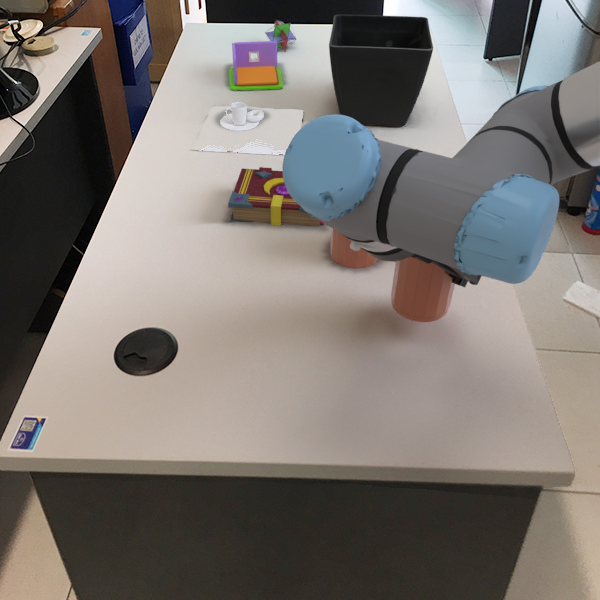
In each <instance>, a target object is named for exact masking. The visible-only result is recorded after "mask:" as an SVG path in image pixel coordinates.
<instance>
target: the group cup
mask: <svg viewBox="0 0 600 600" xmlns="http://www.w3.org/2000/svg"><path fill="white" fill-rule="evenodd" d="M330 229H331V230H330V247H329V252H330V257H331V259H332V260H333V261H334V262H335V263H336V264H338V265H340V266H342V267H345V268H347V269H355V270H358V269H366V268H369V267H372V266H374V265H375V264H376V263H377V262H378V261H380V259H377V258H375V257H373V256H372V255H370V254H369V253H367V252H366V251H365V250H363V249H362V248H360V250H359V251H354V250H352V249H351V248H350V244H351V242H352V241H351V240H350V239H348V238H346V237H345V236H343V235H342V234H340V233H339V232H337V231H336V230H334V229H333V228H331V227H330Z"/></svg>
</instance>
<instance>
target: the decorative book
mask: <svg viewBox="0 0 600 600" xmlns="http://www.w3.org/2000/svg"><path fill="white" fill-rule="evenodd" d="M227 208H232V213H231V216H230V218H229V223H254V222H256V223H270V225H271V226H280V227H281V226H282V224H285V225H296V226H297V225H298V226H310V227H311V226H312V227H320V226H321V225H325V223H324V222H322V221H321V220H319V219H316V218H313V217H311V216H309V215H308V213H307V212H305V211H304V210H303V208H302V207H301V206H300V205H299V204H298V203H297V202H296V201H295V200H294V199H293V198H292V197H291V196H290V194H289V193H288V191H287V188H286V186H285V183H284V180H283V170H273V168H272V167H263V166H261V167H260V166H259V168H258V169H256V168H255V169H254V168H241V169H240V172H239V175H238V178H237V180H236V184H235V186H234V190H232V191H231V194H230V196H229V199H228V202H227Z"/></svg>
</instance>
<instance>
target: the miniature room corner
mask: <svg viewBox="0 0 600 600" xmlns="http://www.w3.org/2000/svg"><path fill="white" fill-rule="evenodd" d="M231 49H232V51H231V52H232V67H230V68H228V83H229V89H230V91H232V90H234V91H235V92H238V91H237V90H244V91H267V89H271V90H281V88H282V89H283V87H284V81H283V77H282V72H281V68H280V66H278V47H277V42H276V41H270V40H267V41H265V40H263V41H237V42H235V41H234V42H232V43H231ZM251 54H256V56H257V58H252V57H251Z"/></svg>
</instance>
